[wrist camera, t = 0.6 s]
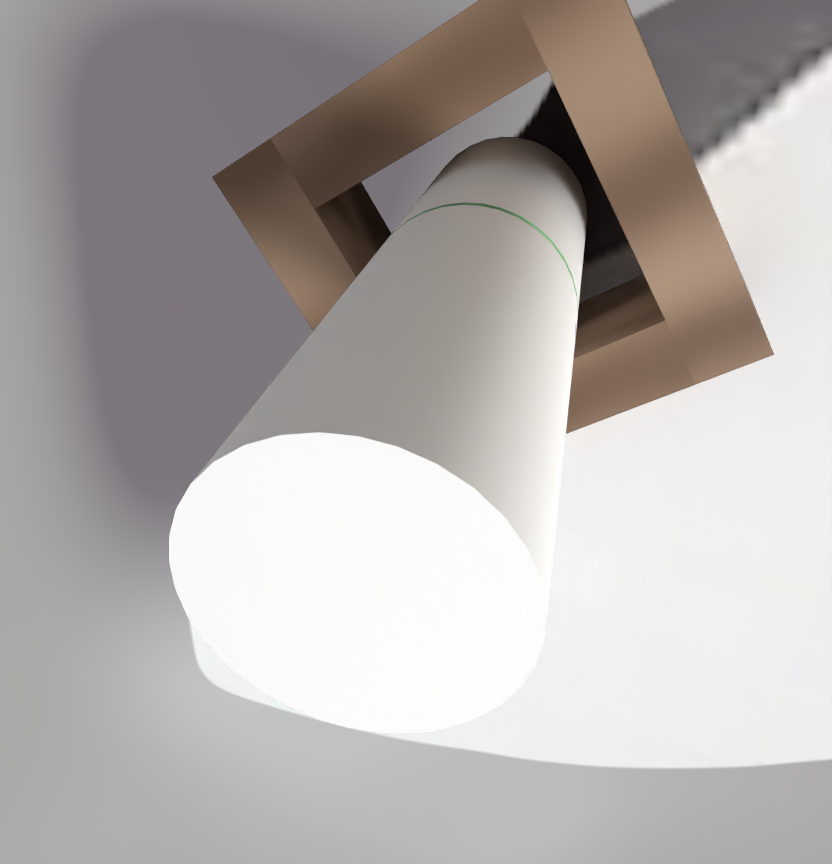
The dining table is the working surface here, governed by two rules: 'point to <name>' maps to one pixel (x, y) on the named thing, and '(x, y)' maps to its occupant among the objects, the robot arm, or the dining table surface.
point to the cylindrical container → (405, 466)
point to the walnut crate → (608, 152)
